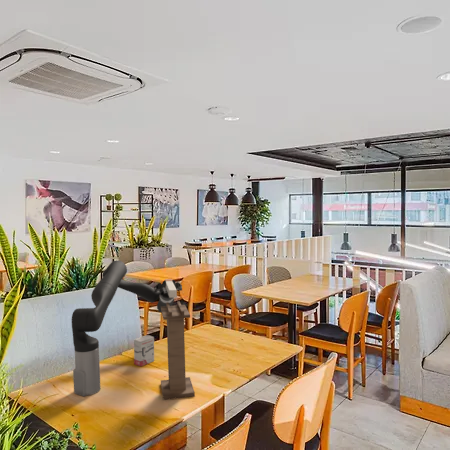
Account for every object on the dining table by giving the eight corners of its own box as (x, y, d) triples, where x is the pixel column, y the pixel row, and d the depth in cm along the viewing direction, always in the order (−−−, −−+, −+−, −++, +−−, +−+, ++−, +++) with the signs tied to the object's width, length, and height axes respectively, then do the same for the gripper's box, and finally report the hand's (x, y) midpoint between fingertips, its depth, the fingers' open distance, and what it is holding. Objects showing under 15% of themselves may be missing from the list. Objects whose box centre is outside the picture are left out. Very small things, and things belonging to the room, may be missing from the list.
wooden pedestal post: (160, 383, 163) (158, 303, 161) (189, 379, 165) (187, 300, 164) (163, 401, 147) (160, 313, 145) (195, 397, 150) (192, 310, 148)
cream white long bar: (164, 286, 183) (164, 279, 183) (171, 285, 184) (171, 278, 184) (169, 297, 160) (169, 289, 160) (177, 297, 161) (176, 289, 161)
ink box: (141, 367, 180) (140, 341, 179) (133, 364, 183) (133, 339, 182) (155, 360, 186) (154, 336, 186) (148, 358, 190) (147, 334, 189)
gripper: (152, 287, 193) (153, 275, 178) (180, 285, 196) (184, 273, 181) (153, 302, 190) (154, 291, 175) (182, 299, 193) (185, 288, 178)
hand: (169, 282), depth 178 cm, fingers closed on cream white long bar, 3 cm apart
